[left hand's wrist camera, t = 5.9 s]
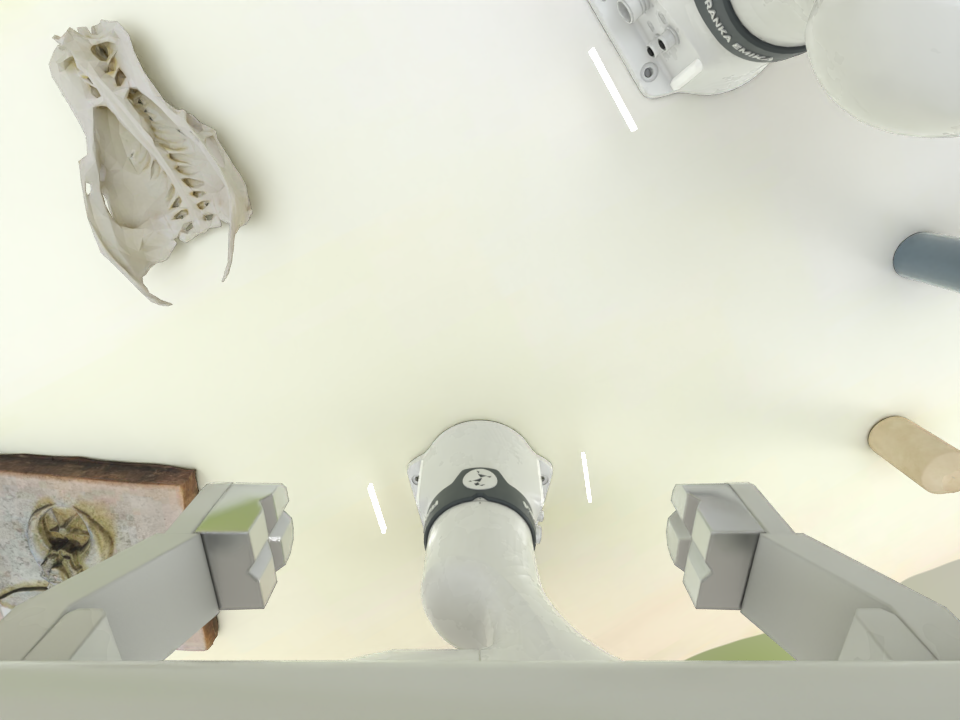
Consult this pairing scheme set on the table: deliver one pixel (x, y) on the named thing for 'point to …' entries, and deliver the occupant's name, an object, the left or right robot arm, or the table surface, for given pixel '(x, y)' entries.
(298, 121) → the table surface
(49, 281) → the table surface
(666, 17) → the right robot arm
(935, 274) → the jar
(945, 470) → the candle
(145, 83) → the anatomical model
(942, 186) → the table surface
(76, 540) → the plaque
